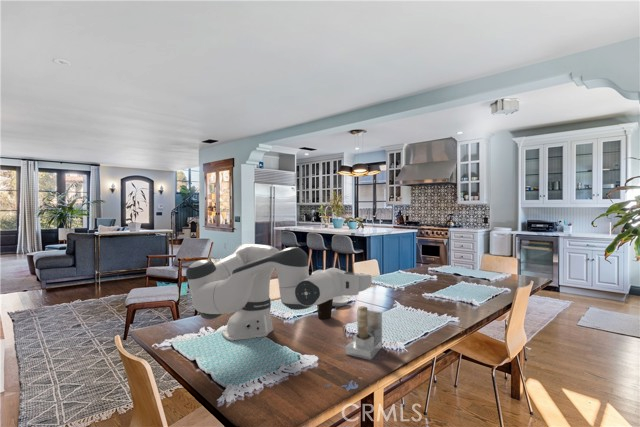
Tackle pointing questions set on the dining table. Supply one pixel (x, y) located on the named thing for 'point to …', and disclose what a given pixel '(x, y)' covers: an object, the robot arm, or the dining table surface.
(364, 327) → the beige banded cylinder
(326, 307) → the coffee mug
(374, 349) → the cup bracket
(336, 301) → the spoon rest
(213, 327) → the dining table surface
